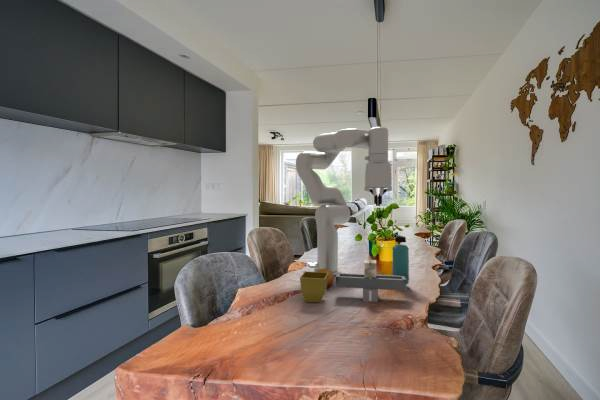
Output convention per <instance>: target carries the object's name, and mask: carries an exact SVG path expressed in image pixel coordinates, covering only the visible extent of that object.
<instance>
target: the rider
mask: <svg viewBox="0 0 600 400" xmlns="http://www.w3.org/2000/svg"><path fill="white" fill-rule="evenodd" d="M363 274H364V277H367V278H369V277H371V278H376V275H377V260H376V259H364V273H363Z"/></svg>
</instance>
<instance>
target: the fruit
mask: <svg viewBox="0 0 600 400" xmlns="http://www.w3.org/2000/svg"><path fill="white" fill-rule="evenodd" d="M316 272H325V273H328V282H327V288H330V287H332V286H333V283H334V279H335V278H334V277H335V275H333V273H332V272H331V271H330V270H328V269H319V270H317V271H316Z"/></svg>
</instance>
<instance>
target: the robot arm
mask: <svg viewBox="0 0 600 400" xmlns="http://www.w3.org/2000/svg"><path fill="white" fill-rule="evenodd" d="M312 145H313V148H314V150H316V151H309V150H308V151H307V150H306V151H301V152H300V153H299V154H297V157H296V160H295V169H296V173H297V175H298V177H299V178H300V180H301V181H302V183H303V186H304V188H305V190H306V193H307V195H308V196H309V198H310V201H311V202H312V204H313V205H315V206H318V207H317V208H316V210H315V213H314V217H315V223H316V232H317V233H316V235H317V236H316V237H317V239H316V243H317V249H316V250H317V259H316V260H317V261H316V262H314V263H312V262H308V263H307V267H308V268H311V269H312V268H313V272H316V271H317V270H319V269H328V270H330V271H331V272H332V273H333V276H336V275H337V273H342V270H341V269H340V268H339V267H338V266H339V263H338V262H339V253H338V252H339V238H338V237H339V234H338V231H337V229H336V226H335V225H345V224H346V223H348V222H349V221H350V219H351V211H350V207H349V205H348V203H347V202H346V200H345V197H344V195H343V194H342V191H341V190H340V189H339V188H338V187H337V186H334V185H326V184H324V183H323V181H322V179H321V177H320V175H319V174H318V173H317V172H316V171H315V170H327V168H329V167H330V166H331V165H332V163H333V162H334V161H335V160H336V158H337V157H338V156H339V154H340V153H341V152H342V151H344V150H345V149H346V148H355V149H357V148H358V149H364V150H365V149H366V150H368V155H367V156H364V160H365V161H367V162H366V163H365V172H364V188H363V189H364V191H366V192H370V193H371V194H372V195H373V204H374V205H375V207H381V205H383V195H384V194H385V193H388V192H391V191H392V190H393V187H392V183H393V179H392V177H393V176H392V167H391V162H389V130H388V128H387V127H383V126H375V127H371V128H370V129H369V130H367V129H362V128H354V127H353V128H345V129H344V128H343V129H339V130H337V131H335V132H328V133H327V132H326V133H321V134H317V135H316V136H315V137H314V139H313V141H312ZM377 189H379V193H378V194H377Z"/></svg>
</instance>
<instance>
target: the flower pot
mask: <svg viewBox="0 0 600 400" xmlns="http://www.w3.org/2000/svg"><path fill="white" fill-rule="evenodd" d="M299 282H300V291H301V295H302V297H303V299H304V301H305V302H306V303H316V304H317V303H318V304H319V303H322V301H323V299H324V297H325V295H326V291H327V288H328V287H327V282H328V273H325V272H314V271H304V272H303V273H302V274H301V275H300V276H299Z"/></svg>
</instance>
